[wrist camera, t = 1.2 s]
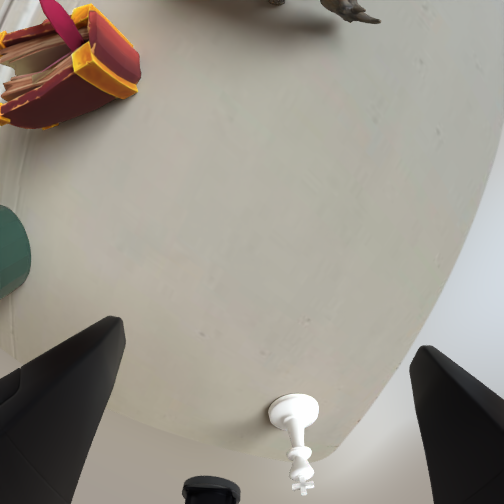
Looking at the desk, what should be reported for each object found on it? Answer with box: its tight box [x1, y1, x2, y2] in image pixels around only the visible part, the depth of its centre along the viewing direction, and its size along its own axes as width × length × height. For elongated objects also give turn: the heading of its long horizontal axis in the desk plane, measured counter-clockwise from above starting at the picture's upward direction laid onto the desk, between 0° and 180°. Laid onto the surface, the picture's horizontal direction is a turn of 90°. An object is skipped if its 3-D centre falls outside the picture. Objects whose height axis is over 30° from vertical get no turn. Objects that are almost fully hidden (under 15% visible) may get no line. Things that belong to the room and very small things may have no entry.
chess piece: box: [268, 394, 319, 495], centre depth 24 cm, size 5×5×10 cm
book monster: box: [0, 0, 141, 130], centre depth 14 cm, size 11×9×12 cm
